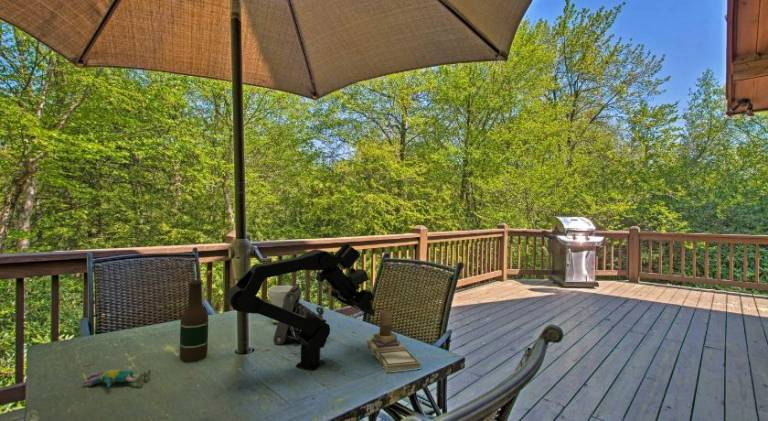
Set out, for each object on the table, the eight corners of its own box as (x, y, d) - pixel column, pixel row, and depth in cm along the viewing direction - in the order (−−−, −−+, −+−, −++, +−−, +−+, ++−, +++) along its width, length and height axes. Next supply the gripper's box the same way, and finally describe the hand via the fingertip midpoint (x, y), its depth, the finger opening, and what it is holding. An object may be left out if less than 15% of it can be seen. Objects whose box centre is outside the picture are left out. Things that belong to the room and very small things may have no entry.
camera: (315, 357, 128) (332, 301, 128) (268, 343, 129) (285, 287, 129) (321, 346, 139) (336, 294, 139) (278, 333, 140) (293, 281, 140)
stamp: (396, 341, 128) (397, 312, 128) (385, 345, 124) (386, 315, 124) (385, 336, 132) (385, 308, 132) (373, 340, 128) (374, 311, 128)
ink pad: (399, 345, 126) (399, 343, 126) (377, 347, 124) (377, 345, 124) (392, 338, 133) (392, 336, 133) (371, 339, 131) (371, 337, 131)
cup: (264, 326, 148) (265, 291, 148) (270, 318, 159) (270, 285, 159) (293, 326, 149) (294, 291, 149) (297, 318, 160) (297, 285, 160)
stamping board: (419, 369, 112) (420, 362, 112) (386, 373, 109) (387, 365, 109) (394, 341, 135) (394, 335, 135) (366, 344, 132) (366, 338, 132)
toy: (157, 378, 105) (100, 385, 103) (156, 358, 105) (99, 366, 104) (134, 393, 94) (71, 402, 93) (133, 372, 94) (70, 380, 93)
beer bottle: (196, 364, 112) (198, 284, 112) (173, 361, 114) (175, 282, 113) (212, 354, 120) (214, 279, 120) (191, 351, 121) (193, 277, 121)
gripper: (370, 265, 114) (397, 298, 121) (340, 258, 130) (365, 287, 136) (346, 293, 110) (376, 326, 116) (318, 282, 125) (345, 311, 131)
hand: (365, 311), depth 125 cm, fingers open, 9 cm apart
